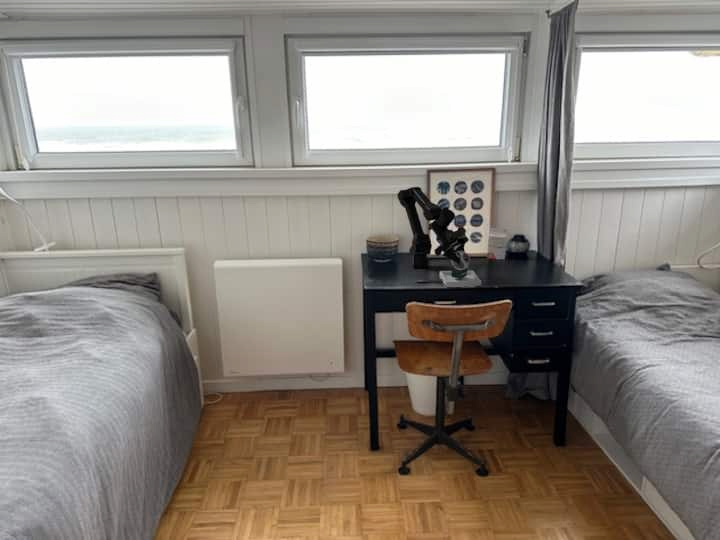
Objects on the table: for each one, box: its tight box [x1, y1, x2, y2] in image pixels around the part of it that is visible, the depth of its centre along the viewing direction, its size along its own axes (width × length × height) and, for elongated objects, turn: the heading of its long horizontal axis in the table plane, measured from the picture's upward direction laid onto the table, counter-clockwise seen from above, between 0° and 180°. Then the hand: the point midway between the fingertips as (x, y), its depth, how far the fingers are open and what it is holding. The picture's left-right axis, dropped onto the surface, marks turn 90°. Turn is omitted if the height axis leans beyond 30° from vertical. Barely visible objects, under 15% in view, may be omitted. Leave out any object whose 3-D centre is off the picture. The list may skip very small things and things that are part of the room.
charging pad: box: [415, 270, 482, 286], centre depth 209 cm, size 26×15×3 cm, turn 91°
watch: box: [450, 251, 471, 279], centre depth 207 cm, size 6×8×11 cm
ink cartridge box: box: [486, 227, 508, 261], centre depth 241 cm, size 9×5×15 cm, turn 71°
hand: (463, 262), depth 206 cm, fingers closed on watch, 5 cm apart
